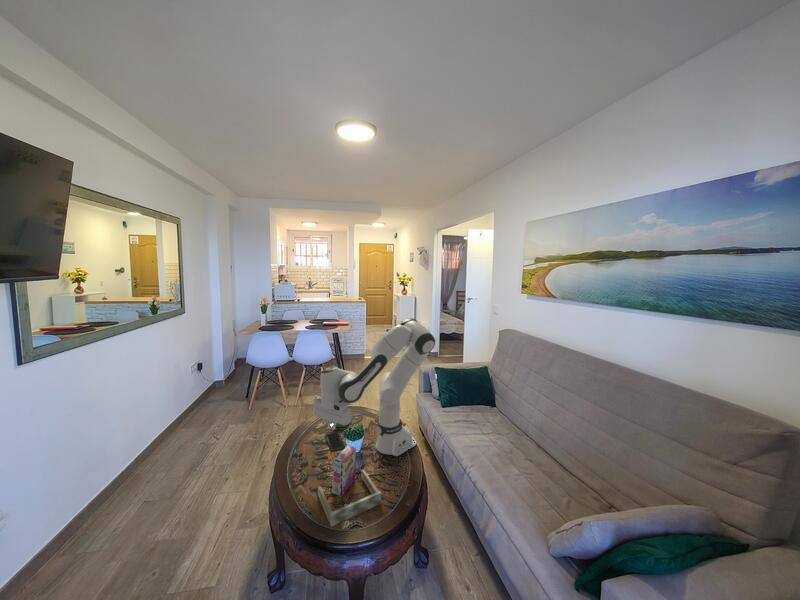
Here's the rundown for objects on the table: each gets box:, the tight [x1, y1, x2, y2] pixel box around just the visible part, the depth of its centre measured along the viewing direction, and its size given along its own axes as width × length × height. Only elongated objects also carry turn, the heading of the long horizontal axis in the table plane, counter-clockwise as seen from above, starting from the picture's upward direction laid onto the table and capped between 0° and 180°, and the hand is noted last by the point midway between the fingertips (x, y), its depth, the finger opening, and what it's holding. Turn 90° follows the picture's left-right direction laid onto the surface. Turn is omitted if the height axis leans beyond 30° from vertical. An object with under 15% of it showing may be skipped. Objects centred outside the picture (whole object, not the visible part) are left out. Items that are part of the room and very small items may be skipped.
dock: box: [317, 469, 382, 527], centre depth 125 cm, size 21×17×5 cm
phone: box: [324, 431, 346, 452], centre depth 163 cm, size 8×1×15 cm
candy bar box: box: [332, 445, 357, 498], centre depth 131 cm, size 11×5×16 cm, turn 156°
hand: (332, 428), depth 141 cm, fingers closed
